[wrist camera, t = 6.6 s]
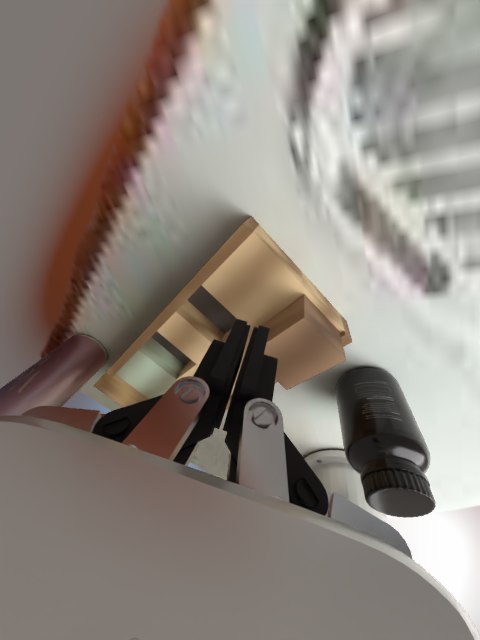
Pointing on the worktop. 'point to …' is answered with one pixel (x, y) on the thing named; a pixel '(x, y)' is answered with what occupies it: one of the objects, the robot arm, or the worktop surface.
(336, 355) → the walnut block
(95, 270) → the worktop surface
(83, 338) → the beverage can
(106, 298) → the worktop surface
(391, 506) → the supplement bottle
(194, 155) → the worktop surface
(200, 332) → the trap trough
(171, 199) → the worktop surface
